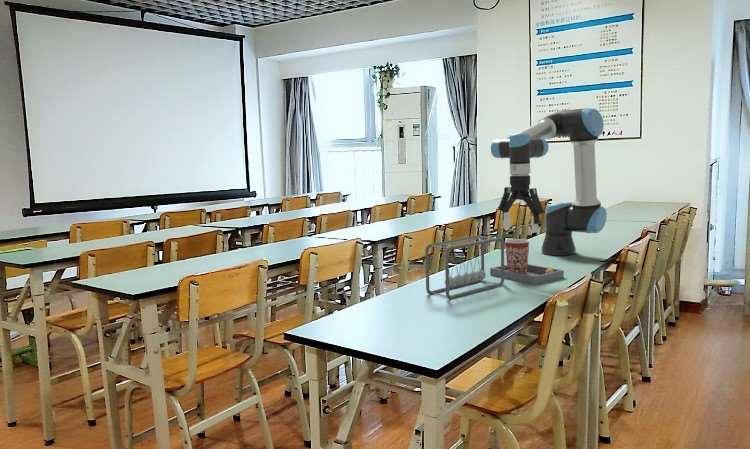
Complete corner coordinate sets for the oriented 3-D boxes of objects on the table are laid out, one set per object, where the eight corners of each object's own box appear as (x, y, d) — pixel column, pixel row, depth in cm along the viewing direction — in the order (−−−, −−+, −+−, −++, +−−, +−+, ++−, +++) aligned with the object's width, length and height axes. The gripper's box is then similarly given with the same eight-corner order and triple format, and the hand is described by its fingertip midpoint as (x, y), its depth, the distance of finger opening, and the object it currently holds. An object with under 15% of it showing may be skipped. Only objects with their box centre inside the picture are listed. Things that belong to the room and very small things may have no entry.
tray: (518, 270, 240) (518, 262, 239) (563, 279, 222) (563, 270, 221) (490, 276, 231) (490, 267, 230) (535, 285, 213) (535, 276, 212)
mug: (521, 279, 221) (521, 243, 219) (500, 276, 227) (500, 241, 226) (538, 273, 230) (538, 239, 228) (517, 270, 236) (517, 237, 235)
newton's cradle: (447, 300, 197) (446, 247, 195) (425, 295, 205) (424, 244, 203) (504, 285, 216) (504, 236, 214) (482, 280, 224) (482, 234, 222)
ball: (549, 275, 225) (549, 267, 225) (555, 277, 223) (556, 268, 222) (543, 277, 224) (543, 268, 223) (550, 278, 221) (550, 269, 221)
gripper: (488, 174, 232) (489, 228, 235) (539, 176, 211) (540, 235, 214) (502, 173, 236) (502, 226, 239) (553, 174, 216) (553, 232, 219)
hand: (520, 230), depth 227 cm, fingers open, 13 cm apart
